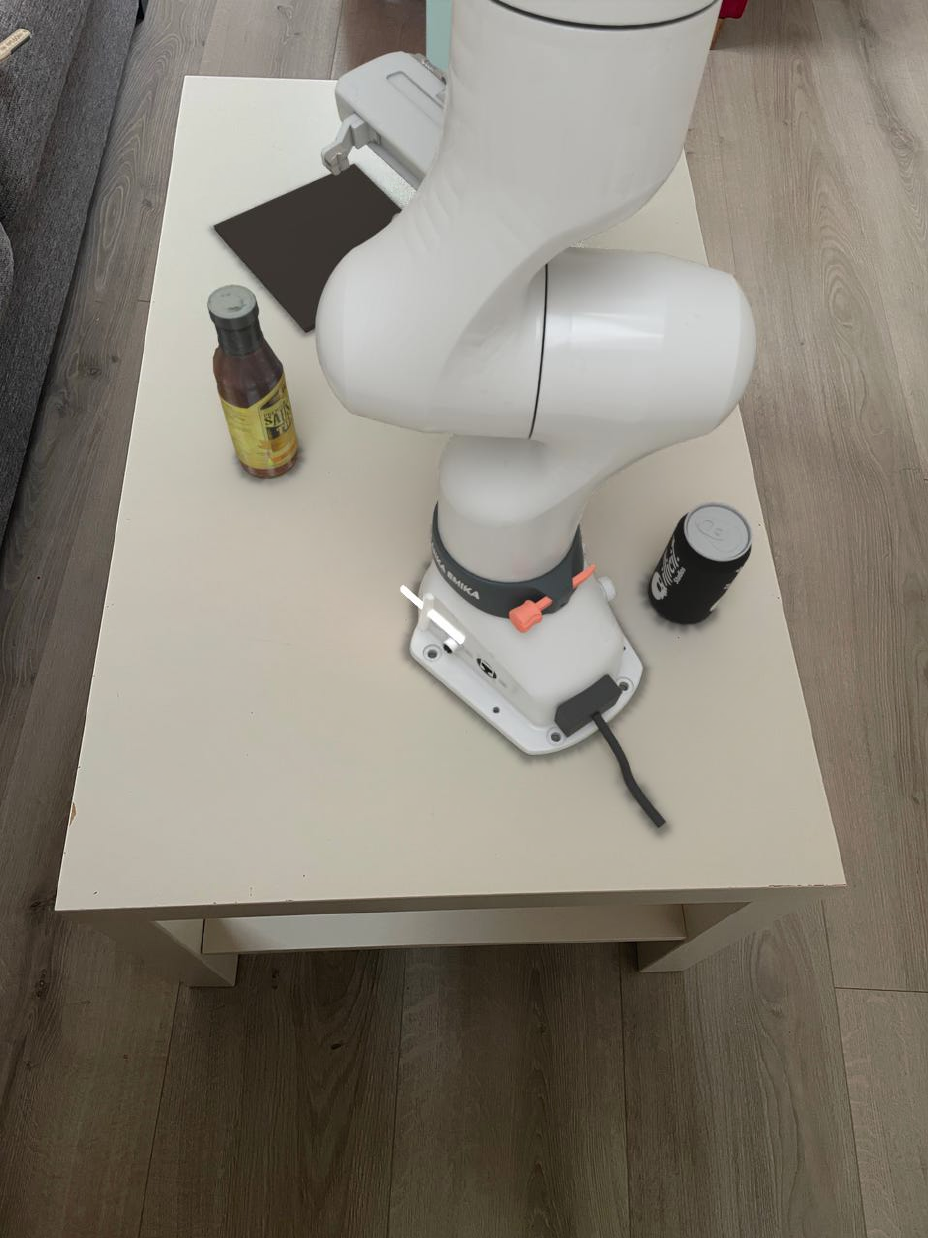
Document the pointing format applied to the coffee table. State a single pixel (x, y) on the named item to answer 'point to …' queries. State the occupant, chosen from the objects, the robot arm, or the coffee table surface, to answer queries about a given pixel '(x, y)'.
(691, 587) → the beverage can
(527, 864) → the coffee table surface
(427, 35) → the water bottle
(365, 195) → the mat
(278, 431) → the sauce bottle
